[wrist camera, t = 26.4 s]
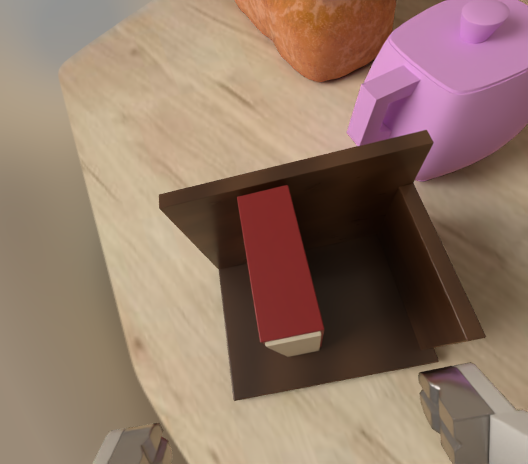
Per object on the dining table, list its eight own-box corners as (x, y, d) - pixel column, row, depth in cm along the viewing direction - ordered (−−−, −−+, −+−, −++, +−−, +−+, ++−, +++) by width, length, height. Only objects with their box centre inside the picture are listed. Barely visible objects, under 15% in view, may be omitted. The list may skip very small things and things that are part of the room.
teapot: (383, 224, 29) (427, 129, 17) (316, 139, 34) (315, 24, 23) (557, 131, 30) (704, -16, 19) (465, 63, 35) (535, -83, 24)
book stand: (236, 399, 25) (164, 426, 13) (220, 263, 30) (158, 194, 18) (434, 362, 24) (550, 353, 12) (382, 226, 29) (426, 129, 17)
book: (285, 357, 24) (260, 347, 14) (267, 263, 28) (236, 196, 17) (321, 350, 24) (325, 334, 14) (299, 256, 28) (287, 184, 17)
